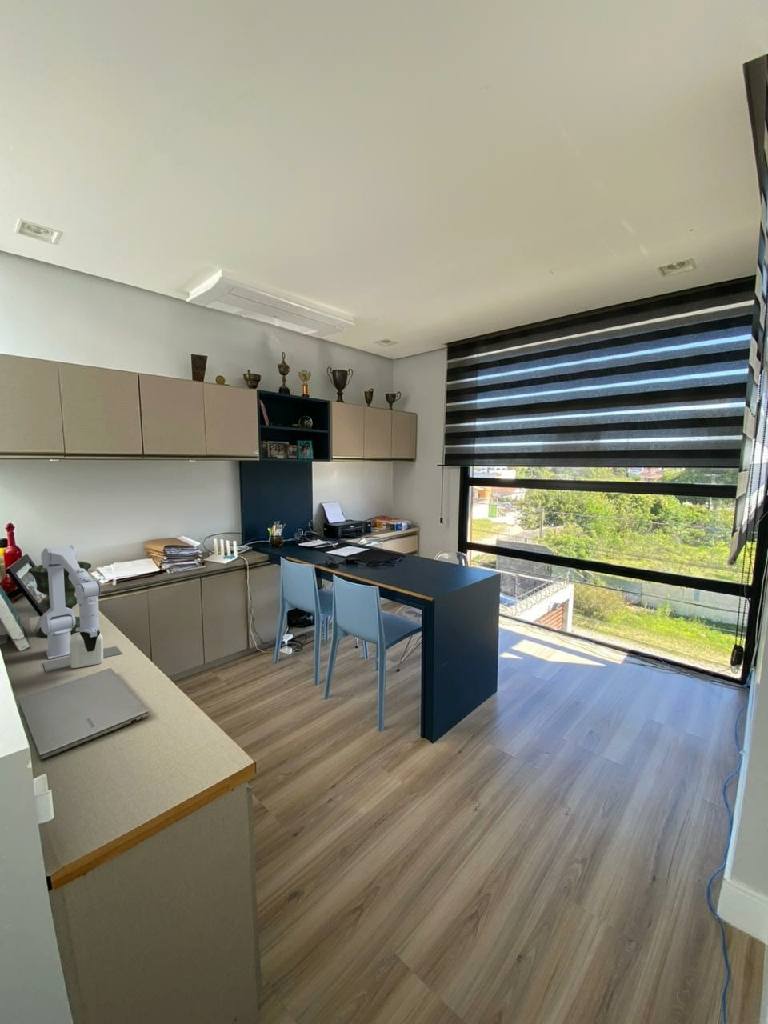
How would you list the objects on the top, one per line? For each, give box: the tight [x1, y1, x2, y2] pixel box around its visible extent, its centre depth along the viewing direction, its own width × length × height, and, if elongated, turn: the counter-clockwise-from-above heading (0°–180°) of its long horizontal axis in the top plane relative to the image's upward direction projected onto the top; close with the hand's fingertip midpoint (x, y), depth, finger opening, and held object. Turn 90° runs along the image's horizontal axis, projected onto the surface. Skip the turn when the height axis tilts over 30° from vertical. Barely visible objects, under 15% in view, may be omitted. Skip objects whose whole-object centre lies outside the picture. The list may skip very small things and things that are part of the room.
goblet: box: [27, 561, 92, 638], centre depth 191 cm, size 22×23×30 cm
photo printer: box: [69, 632, 104, 669], centre depth 158 cm, size 10×4×12 cm, turn 123°
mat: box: [42, 645, 123, 673], centre depth 164 cm, size 10×24×1 cm, turn 135°
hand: (90, 650), depth 153 cm, fingers closed
